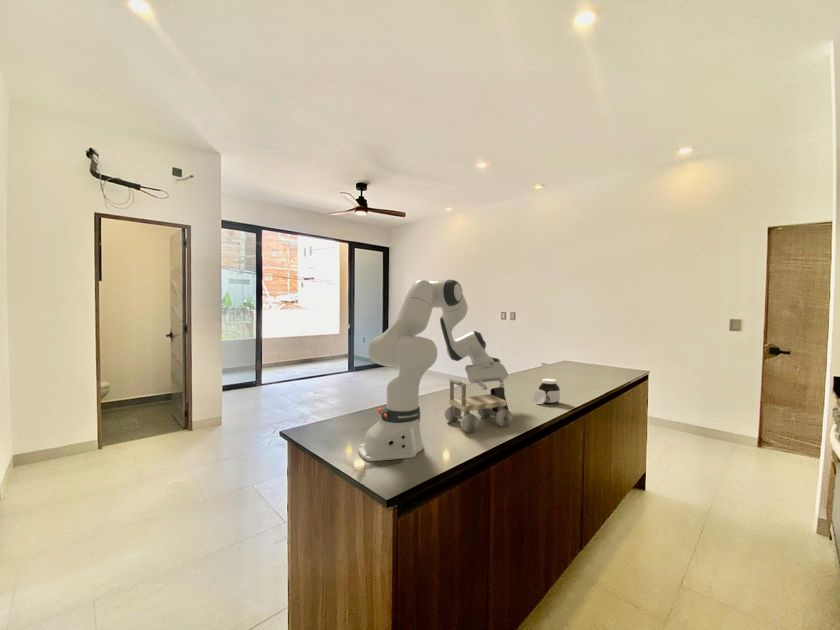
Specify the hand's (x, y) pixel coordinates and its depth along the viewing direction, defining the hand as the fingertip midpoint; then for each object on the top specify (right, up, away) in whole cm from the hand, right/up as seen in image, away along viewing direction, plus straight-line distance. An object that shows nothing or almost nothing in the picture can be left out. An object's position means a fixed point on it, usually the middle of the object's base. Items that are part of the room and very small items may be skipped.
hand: (494, 388), depth 165 cm
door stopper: (+1, -11, -3) cm, 12 cm away
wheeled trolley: (-10, -12, -16) cm, 22 cm away
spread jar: (+29, -11, +14) cm, 34 cm away
